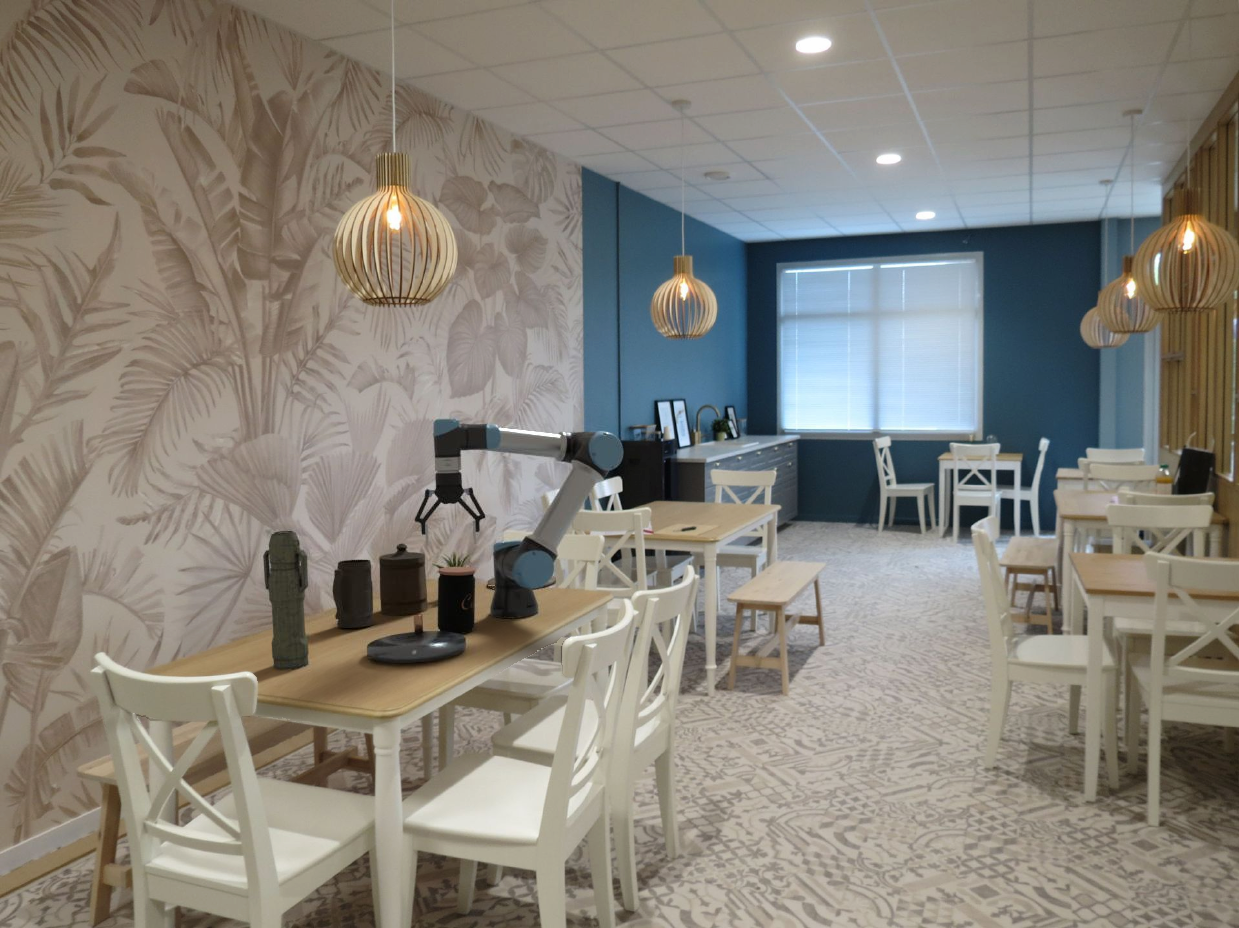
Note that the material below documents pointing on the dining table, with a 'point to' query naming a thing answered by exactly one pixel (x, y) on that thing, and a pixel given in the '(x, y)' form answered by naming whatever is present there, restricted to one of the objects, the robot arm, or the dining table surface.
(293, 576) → the thermos
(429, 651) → the disc
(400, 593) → the wooden container
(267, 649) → the dining table surface
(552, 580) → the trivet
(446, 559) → the house plant
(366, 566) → the beer stein
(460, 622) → the coffee jar
